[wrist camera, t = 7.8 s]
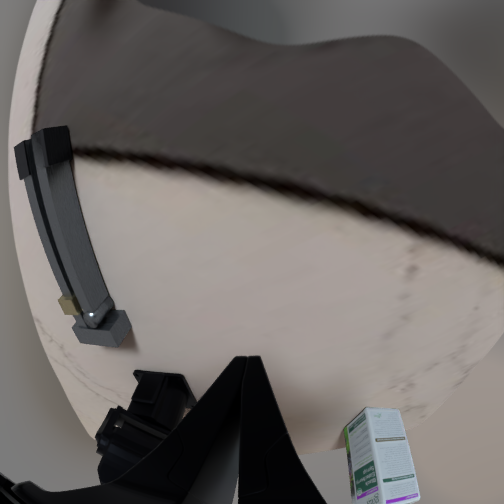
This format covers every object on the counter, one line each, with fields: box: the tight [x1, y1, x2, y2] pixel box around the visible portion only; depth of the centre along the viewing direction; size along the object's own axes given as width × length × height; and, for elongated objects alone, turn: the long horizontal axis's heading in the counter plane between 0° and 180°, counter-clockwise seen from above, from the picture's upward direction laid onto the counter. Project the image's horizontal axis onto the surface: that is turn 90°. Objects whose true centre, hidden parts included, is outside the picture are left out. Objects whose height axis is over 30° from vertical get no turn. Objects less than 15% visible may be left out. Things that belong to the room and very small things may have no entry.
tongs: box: [14, 139, 132, 347], centre depth 20 cm, size 20×5×4 cm, turn 8°
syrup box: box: [344, 407, 420, 504], centre depth 22 cm, size 6×6×14 cm
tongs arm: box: [31, 126, 113, 328], centre depth 19 cm, size 17×2×3 cm, turn 7°
